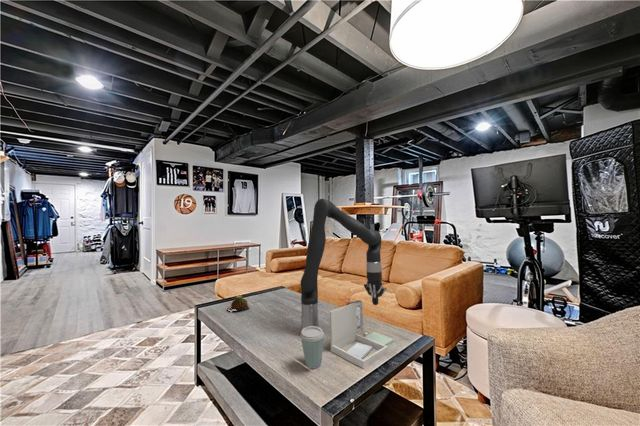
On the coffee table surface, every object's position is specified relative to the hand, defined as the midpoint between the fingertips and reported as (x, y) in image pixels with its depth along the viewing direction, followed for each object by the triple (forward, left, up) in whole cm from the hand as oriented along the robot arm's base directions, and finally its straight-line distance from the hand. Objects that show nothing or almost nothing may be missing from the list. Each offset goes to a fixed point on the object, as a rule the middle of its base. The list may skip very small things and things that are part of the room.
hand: (375, 304), depth 133 cm
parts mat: (+1, +1, -19) cm, 19 cm away
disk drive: (-5, +20, -20) cm, 28 cm away
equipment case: (-12, -6, -19) cm, 23 cm away
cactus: (-74, +73, -20) cm, 105 cm away
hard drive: (-17, -11, -19) cm, 27 cm away
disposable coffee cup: (-35, -11, -20) cm, 41 cm away
